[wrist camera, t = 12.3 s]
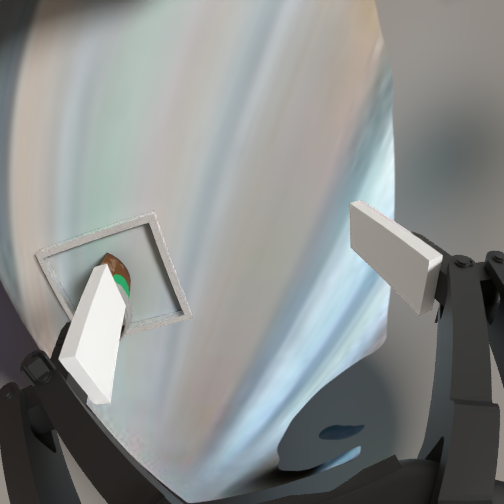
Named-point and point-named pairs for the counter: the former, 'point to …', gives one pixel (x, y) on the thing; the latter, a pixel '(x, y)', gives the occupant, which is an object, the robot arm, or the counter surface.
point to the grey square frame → (105, 231)
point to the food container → (121, 287)
